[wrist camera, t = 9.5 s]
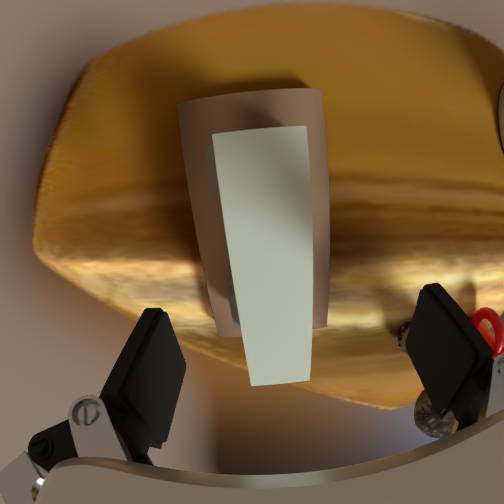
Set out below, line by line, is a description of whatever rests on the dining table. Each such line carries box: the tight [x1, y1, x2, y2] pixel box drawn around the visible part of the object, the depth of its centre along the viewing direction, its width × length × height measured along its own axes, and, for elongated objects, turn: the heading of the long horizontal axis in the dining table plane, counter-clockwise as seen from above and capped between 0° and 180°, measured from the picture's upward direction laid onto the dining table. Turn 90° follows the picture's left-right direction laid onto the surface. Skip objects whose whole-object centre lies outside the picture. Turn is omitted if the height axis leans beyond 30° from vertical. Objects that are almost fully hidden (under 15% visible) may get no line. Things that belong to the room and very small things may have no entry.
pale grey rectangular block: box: [212, 126, 313, 386], centre depth 16 cm, size 4×14×8 cm, turn 6°
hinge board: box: [176, 88, 330, 337], centre depth 19 cm, size 10×20×5 cm, turn 6°
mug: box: [471, 307, 504, 360], centre depth 24 cm, size 8×12×8 cm, turn 14°
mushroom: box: [398, 322, 455, 438], centre depth 20 cm, size 9×9×15 cm
